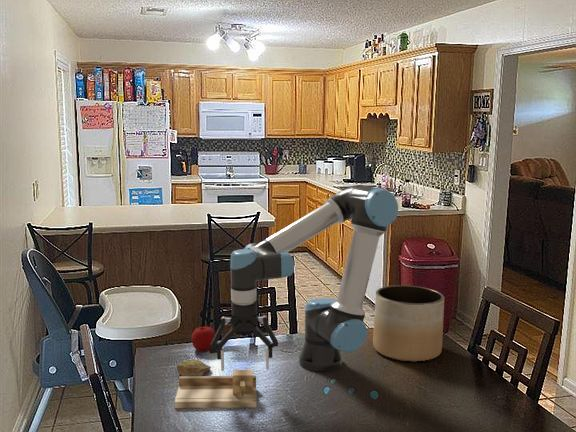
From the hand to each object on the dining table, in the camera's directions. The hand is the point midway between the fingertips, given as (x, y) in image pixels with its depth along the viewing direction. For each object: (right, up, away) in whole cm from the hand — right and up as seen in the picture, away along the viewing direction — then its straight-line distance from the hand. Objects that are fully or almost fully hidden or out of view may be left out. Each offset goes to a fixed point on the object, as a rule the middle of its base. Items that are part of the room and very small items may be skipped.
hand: (245, 368), depth 176 cm
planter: (+58, -4, +41) cm, 71 cm away
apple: (-18, -3, +38) cm, 42 cm away
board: (-9, -9, 0) cm, 13 cm away
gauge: (-1, -7, -1) cm, 8 cm away
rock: (-18, -7, +19) cm, 27 cm away
